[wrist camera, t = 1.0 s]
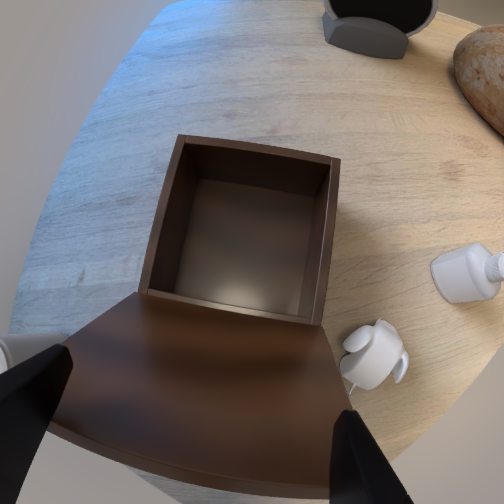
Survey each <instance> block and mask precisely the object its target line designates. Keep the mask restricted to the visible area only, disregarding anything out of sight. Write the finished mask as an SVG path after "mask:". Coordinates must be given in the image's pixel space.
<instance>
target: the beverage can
mask: <svg viewBox="0 0 504 504" xmlns="http://www.w3.org/2000/svg"><path fill="white" fill-rule="evenodd" d="M67 338H68V337H67V336H66V335H65V334H63V333H61V332H48V333H29V334H3V335H0V374H1V373H3V372H5V371H6V370H8V369H10V368H12V367H14V366H16V365H17V364H19V363H21V362H23V361H25V360H27V359H28V358H30V357H32V356H34V355H36V354H38V353H39V352H41V351H43V350H45V349H47V348H49V347H51V346H52V345H54V344H57V343H59V344H60V343H62V342H63V341H65V340H66V339H67Z"/></svg>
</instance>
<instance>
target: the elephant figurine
mask: <svg viewBox="0 0 504 504" xmlns="http://www.w3.org/2000/svg"><path fill="white" fill-rule="evenodd" d="M381 318H382V317H381ZM381 318H379V319H378V320H377V321H376V323H375V325H374V326H369V325H364V326H362V327H360V328H358V329H357V330H355V331H354V332H353V333H352V334H350V335H349V336H348V337H347V338H346V339H345V341H344V343H343V346H344V348H345V350H346V351H348V352H351V353H350V354H349V355H346V356H344V357H343V358H342V360H341V362H340V371H341V374H342V376H343V377H344V378H346V379H347V380H349V381H350V382H352V383H353V384H352V389H351V391H350V393H349V394H348V395H349V396H350V395H351V392H352V390H353V389H354V388H355V386H358V387H360V388H362V389H365V390H372V389H374V388H375V387H377V386H378V385H380V384H381V383H382V382H383V381H384V380H385V379H386V378H387V376H388V375H389V374H390V372H391V371H392V373H393V376H394V379H395V382H396V383H399V382H400V381H401V380H402V379H403V377H404V375H405V373H406V371H407V368H408V365H409V356H408V353H407V351H406V350H405V349H404V346H403V342H402V340H401V338H400V337H399V335H398V333H397V331H396V329H395V327H393V326H392V325H391V324H389V323H388V322H386V321H384V320H380V319H381Z"/></svg>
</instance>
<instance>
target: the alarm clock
mask: <svg viewBox="0 0 504 504" xmlns="http://www.w3.org/2000/svg"><path fill="white" fill-rule="evenodd" d="M322 2H323V5H324V7H325V10H326V11H325V13H324V15H323V17H322V18H323V26H324V34H325V41H327V42H328V43H330V44H332V45H334V46H337V47H339V48H343V49H346V50H349V51H352V52H355V53H359V54H363V55H367V56H372V57H378V58H386V59H403V57H404V55H405V51H406V48H407V44H408V39H407V38H408V37H410V36H412V35H414V34H417V33H419V32H420V31H421V30H423V29H424V28H425V27H427V26H428V25H429V24H430V22H431V21H432V20H433V18H434V17H435V14H436V11H437V8H438V0H322Z"/></svg>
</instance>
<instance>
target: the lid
mask: <svg viewBox="0 0 504 504" xmlns="http://www.w3.org/2000/svg"><path fill="white" fill-rule="evenodd" d="M60 344H62V345H65V346H67V347H68V349H69V351H70V354H71V357H72V360H73V369H72V372H71V374H70V377H69V380H68V382H67V385H66V387H65V390H64V393H63V395H62V398H61V400H60V403H59V405H58V407H57V409H56V411H55V413H54V415H53V417H52V419H51V421H50V424H49V426H48V428H47V430H46V431H48V432H50V433H52V434H54V435H56V436H58V437H60V438H62V439H64V440H67V441H69V442H71V443H73V444H75V445H77V446H80V447H82V448H84V449H87V450H89V451H91V452H93V453H96V454H98V455H101V456H104V457H106V458H109V459H111V460H114V461H116V462H119V463H122V464H125V465H128V466H131V467H134V468H137V469H140V470H143V471H146V472H149V473H152V474H156V475H159V476H163V477H166V478H170V479H174V480H178V481H182V482H186V483H190V484H195V485H199V486H204V487H209V488H214V489H219V490H225V491H231V492H237V493H244V494H252V495H260V496H269V497H280V498H295V499H329V467H330V457H331V448H332V437H333V427H334V424H335V422H336V420H337V419H338V417H339V415H340V414H341V412H342V411H343V410H345V409H348V410H353V409H352V406H351V403H350V400H349V397H348V395H347V392H346V389H345V386H344V383H343V381H342V378H341V375H340V372H339V370H338V367H337V364H336V361H335V359H334V356H333V353H332V351H331V348H330V345H329V343H328V340H327V337H326V335H325V332H324V329H323V327H322V326H315V325H308V324H302V323H295V322H289V321H282V320H276V319H270V318H264V317H258V316H252V315H247V314H241V313H235V312H230V311H225V310H219V309H214V308H209V307H204V306H199V305H194V304H189V303H184V302H179V301H175V300H170V299H165V298H161V297H156V296H152V295H147V294H143V293H138V292H134V293H132V294H131V295H129V296H128V297H126V298H125V299H123V300H122V301H121V302H119V303H118V304H116V305H115V306H113V307H112V308H110V309H109V310H107V311H106V312H105V313H103V314H102V315H100V316H99V317H97V318H96V319H94V320H93V321H92V322H90V323H89V324H87V325H86V326H84V327H83V328H82V329H80V330H79V331H77V332H76V333H75V334H73V335H72V336H70V337H69V338H67V339H66V340H65V341H63V342H62V343H60Z"/></svg>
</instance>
